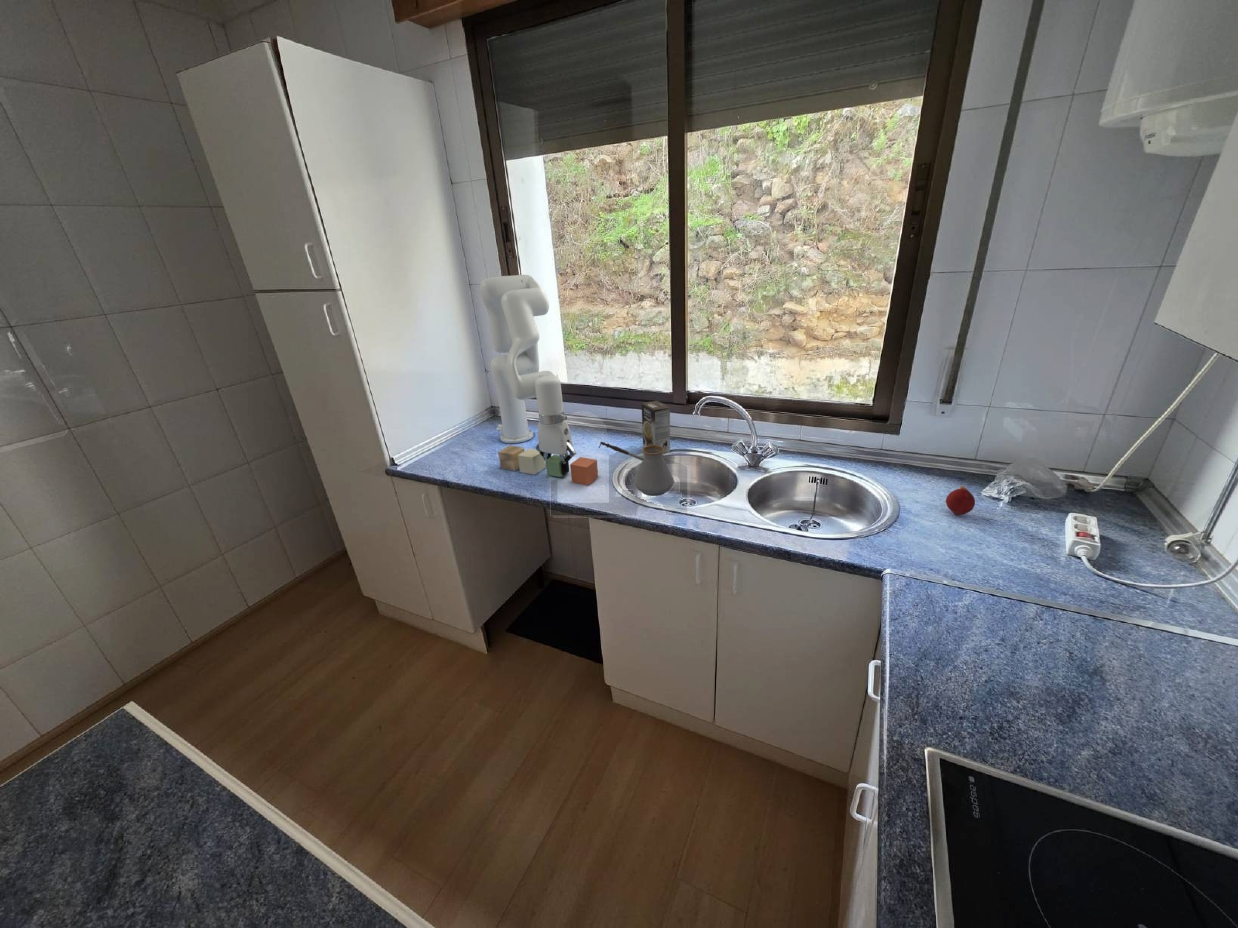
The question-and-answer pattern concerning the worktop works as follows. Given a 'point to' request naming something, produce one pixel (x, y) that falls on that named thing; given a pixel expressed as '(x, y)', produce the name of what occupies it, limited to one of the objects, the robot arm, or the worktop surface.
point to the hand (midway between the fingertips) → (558, 471)
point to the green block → (554, 466)
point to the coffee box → (656, 424)
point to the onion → (960, 501)
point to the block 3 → (584, 470)
